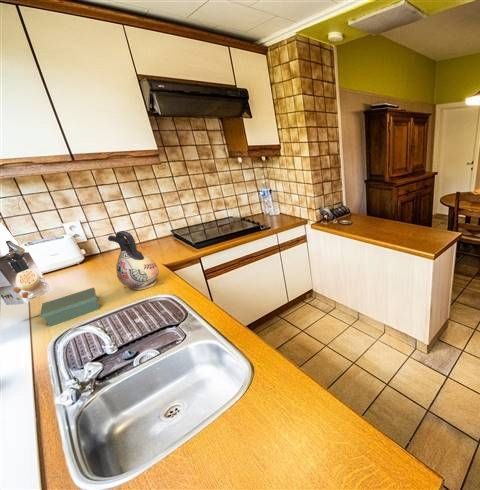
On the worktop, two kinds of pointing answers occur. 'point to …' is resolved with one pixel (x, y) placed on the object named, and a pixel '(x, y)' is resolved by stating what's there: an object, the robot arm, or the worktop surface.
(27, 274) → the coffee box
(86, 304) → the green block
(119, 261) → the ceramic jug
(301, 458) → the worktop surface
